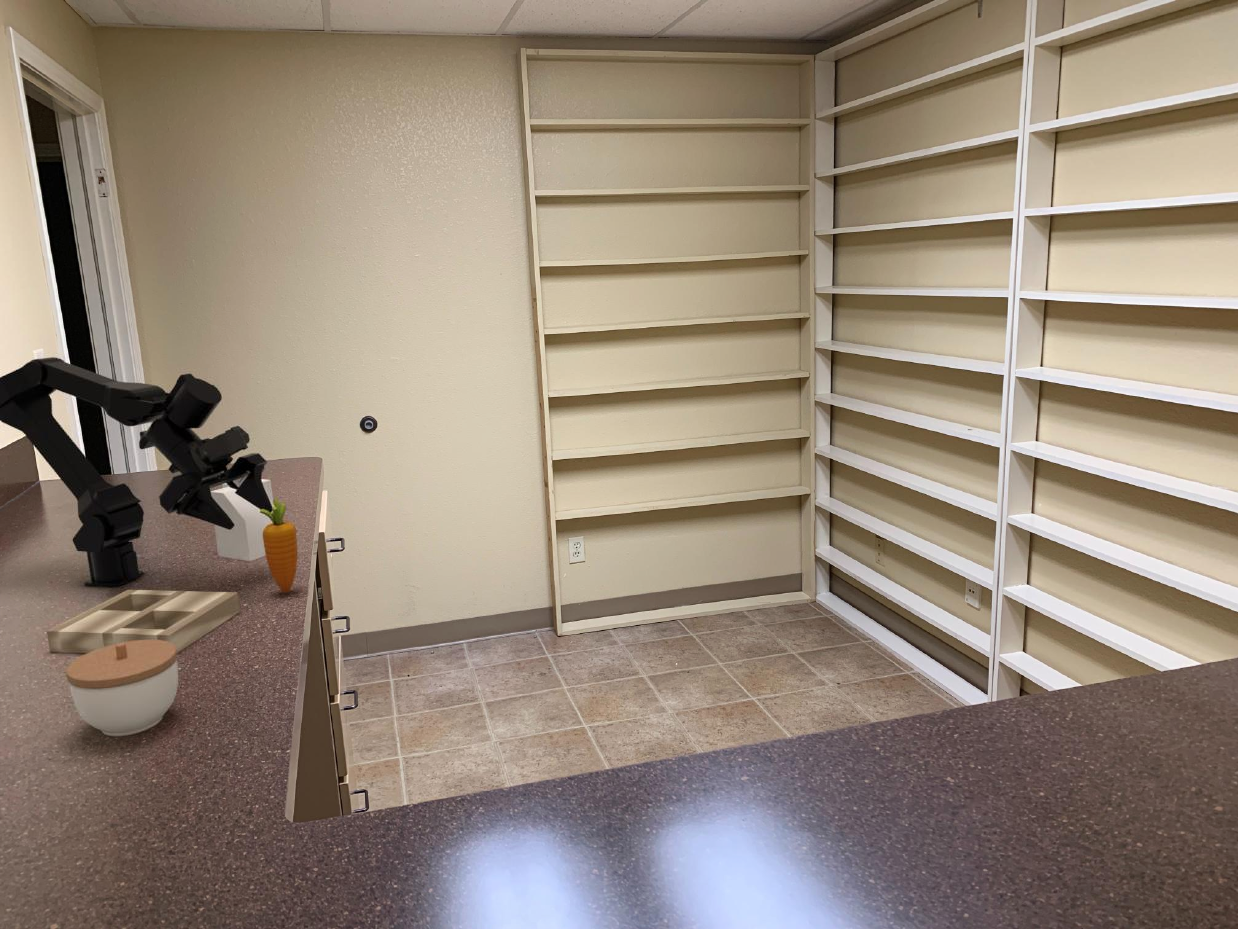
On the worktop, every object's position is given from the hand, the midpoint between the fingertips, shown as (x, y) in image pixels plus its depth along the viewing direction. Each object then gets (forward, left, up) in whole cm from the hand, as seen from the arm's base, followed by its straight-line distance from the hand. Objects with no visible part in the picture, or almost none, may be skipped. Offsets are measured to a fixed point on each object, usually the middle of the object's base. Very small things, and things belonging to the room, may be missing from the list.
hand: (252, 519), depth 139 cm
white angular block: (-14, +21, -12) cm, 29 cm away
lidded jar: (+9, -42, -12) cm, 44 cm away
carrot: (+5, -1, -12) cm, 13 cm away
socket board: (-7, -17, -12) cm, 22 cm away
